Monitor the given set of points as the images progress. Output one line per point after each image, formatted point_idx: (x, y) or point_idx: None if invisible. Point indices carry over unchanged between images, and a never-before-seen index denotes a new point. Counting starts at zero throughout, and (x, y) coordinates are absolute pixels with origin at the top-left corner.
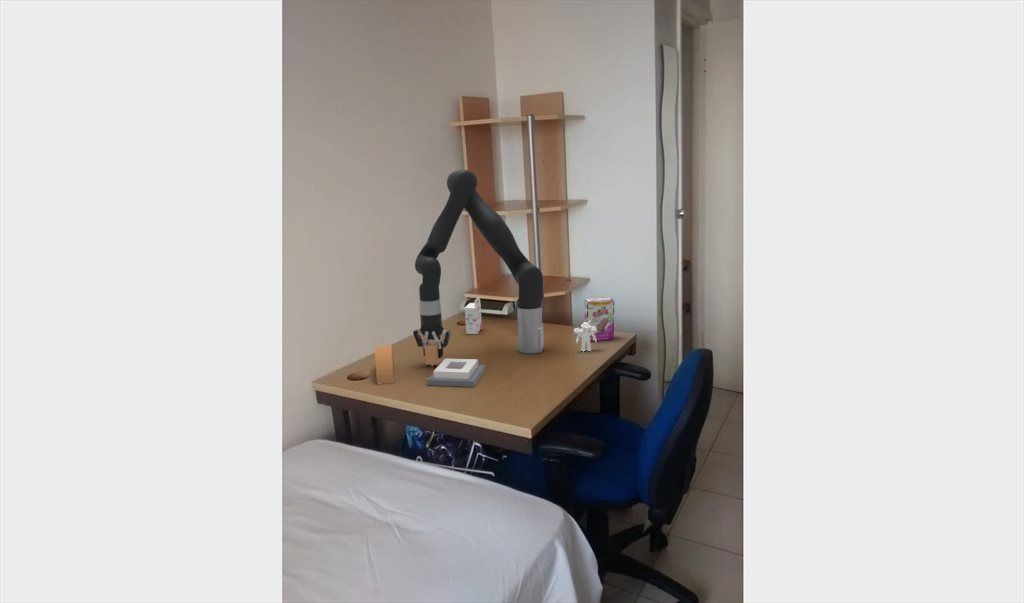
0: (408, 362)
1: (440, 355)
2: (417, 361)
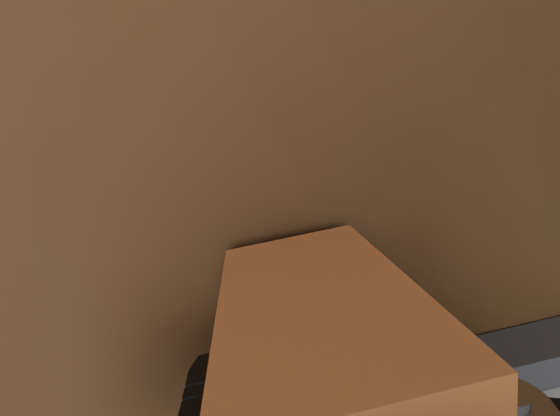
0: (14, 315)
1: None
2: (84, 263)
